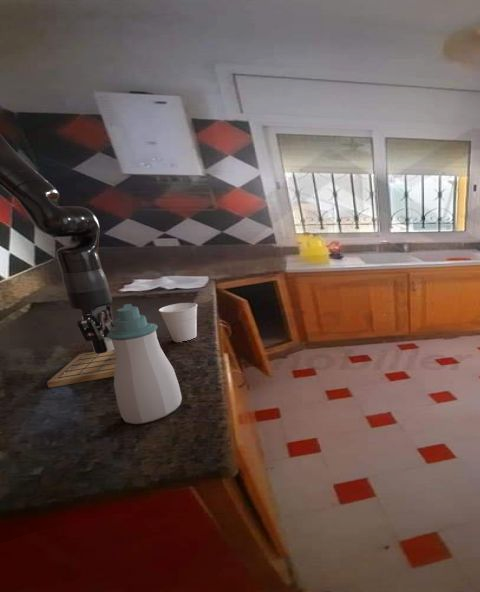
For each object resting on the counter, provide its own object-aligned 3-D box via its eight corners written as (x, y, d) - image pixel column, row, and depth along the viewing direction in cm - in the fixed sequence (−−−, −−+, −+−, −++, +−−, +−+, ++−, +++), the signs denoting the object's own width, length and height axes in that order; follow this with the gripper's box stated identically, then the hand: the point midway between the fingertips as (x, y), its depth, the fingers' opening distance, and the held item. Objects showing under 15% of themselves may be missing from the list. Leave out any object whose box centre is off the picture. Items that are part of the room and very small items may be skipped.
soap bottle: (179, 392, 73) (158, 298, 67) (185, 412, 66) (162, 309, 60) (122, 409, 67) (93, 308, 61) (122, 433, 60) (88, 321, 54)
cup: (171, 335, 105) (164, 304, 102) (206, 331, 109) (200, 301, 106) (161, 347, 97) (153, 313, 94) (199, 342, 100) (193, 309, 97)
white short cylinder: (91, 354, 82) (88, 344, 81) (98, 348, 86) (95, 338, 85) (114, 351, 84) (111, 341, 83) (120, 344, 88) (118, 335, 87)
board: (48, 388, 75) (46, 381, 74) (81, 358, 89) (79, 353, 89) (140, 371, 82) (139, 366, 82) (157, 347, 97) (156, 342, 96)
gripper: (80, 283, 84) (98, 341, 89) (51, 296, 72) (73, 363, 77) (117, 280, 88) (132, 336, 92) (95, 292, 76) (114, 356, 80)
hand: (105, 348), depth 85 cm, fingers closed on white short cylinder, 4 cm apart
